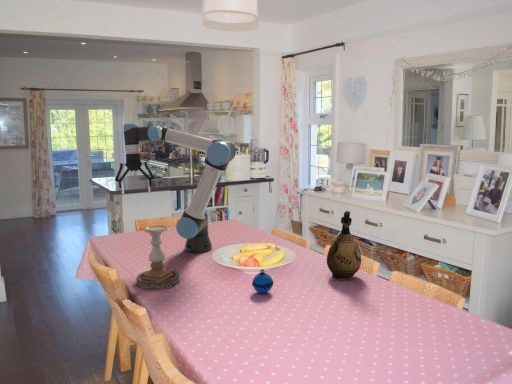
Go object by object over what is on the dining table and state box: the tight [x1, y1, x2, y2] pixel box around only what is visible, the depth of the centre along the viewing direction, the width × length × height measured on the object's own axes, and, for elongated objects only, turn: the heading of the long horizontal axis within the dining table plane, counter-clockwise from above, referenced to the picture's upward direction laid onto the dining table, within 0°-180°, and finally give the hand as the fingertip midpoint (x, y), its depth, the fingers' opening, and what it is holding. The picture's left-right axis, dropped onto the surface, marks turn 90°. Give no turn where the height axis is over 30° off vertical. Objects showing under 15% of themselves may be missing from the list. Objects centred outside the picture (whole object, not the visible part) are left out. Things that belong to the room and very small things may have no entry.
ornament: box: [251, 269, 274, 294], centre depth 195 cm, size 9×9×10 cm
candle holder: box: [141, 225, 175, 282], centre depth 208 cm, size 11×11×24 cm
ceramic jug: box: [326, 210, 362, 281], centre depth 211 cm, size 17×15×30 cm
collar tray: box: [136, 268, 181, 290], centre depth 210 cm, size 19×19×3 cm
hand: (136, 193), depth 248 cm, fingers open, 13 cm apart
